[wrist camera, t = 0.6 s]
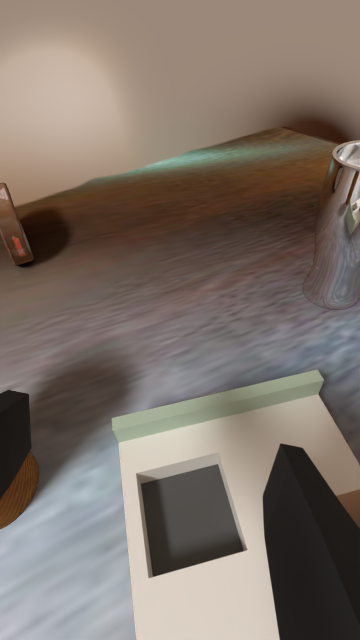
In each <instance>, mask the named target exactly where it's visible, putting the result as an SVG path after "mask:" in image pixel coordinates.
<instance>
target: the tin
mask: <svg viewBox="0 0 360 640" xmlns="http://www.w3.org/2000/svg"><path fill="white" fill-rule="evenodd" d="M0 233H1V236H2V238H3V241H4V243H5V245H6V248H7V250H8V252H9V254H10V256H11V258H12V261H13V263H14V265H15V266H17V265H19V264H23V263H26V262H30V261H32V260H33V259H34V257H33V255H32V252H31V249H30V246H29V243H28V240H27V237H26V235H25V233H24V230H23V227H22V225H21V222H20V220H19V217H18V215H17V213H16V211H15V208H14V205H13V202H12V199H11V196H10V193H9V190H8V188H7V186H6V184H5V183H0Z"/></svg>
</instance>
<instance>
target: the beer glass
mask: <svg viewBox="0 0 360 640" xmlns="http://www.w3.org/2000/svg"><path fill="white" fill-rule="evenodd" d="M303 292H304V294H305V296H306V297H307V298H308V299H309V300H310V301H311V302H313V303H314V304H316V305H318V306H320V307H323V308H327V309H346V308H349V307H351V306H353V305H354V304H356V303H357V301H358V300H359V298H360V140H358V141H351V142H348V143H344V144H341V145H339V146H337V147H336V148H335V149H334V150H333V154H332V158H331V161H330V164H329V167H328V170H327V173H326V176H325V179H324V182H323V186H322V190H321V193H320V197H319V202H318V207H317V213H316V223H315V246H314V258H313V263H312V266H311V268H310V271H309V273H308V275H307V277H306V279H305V281H304V283H303Z"/></svg>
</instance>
